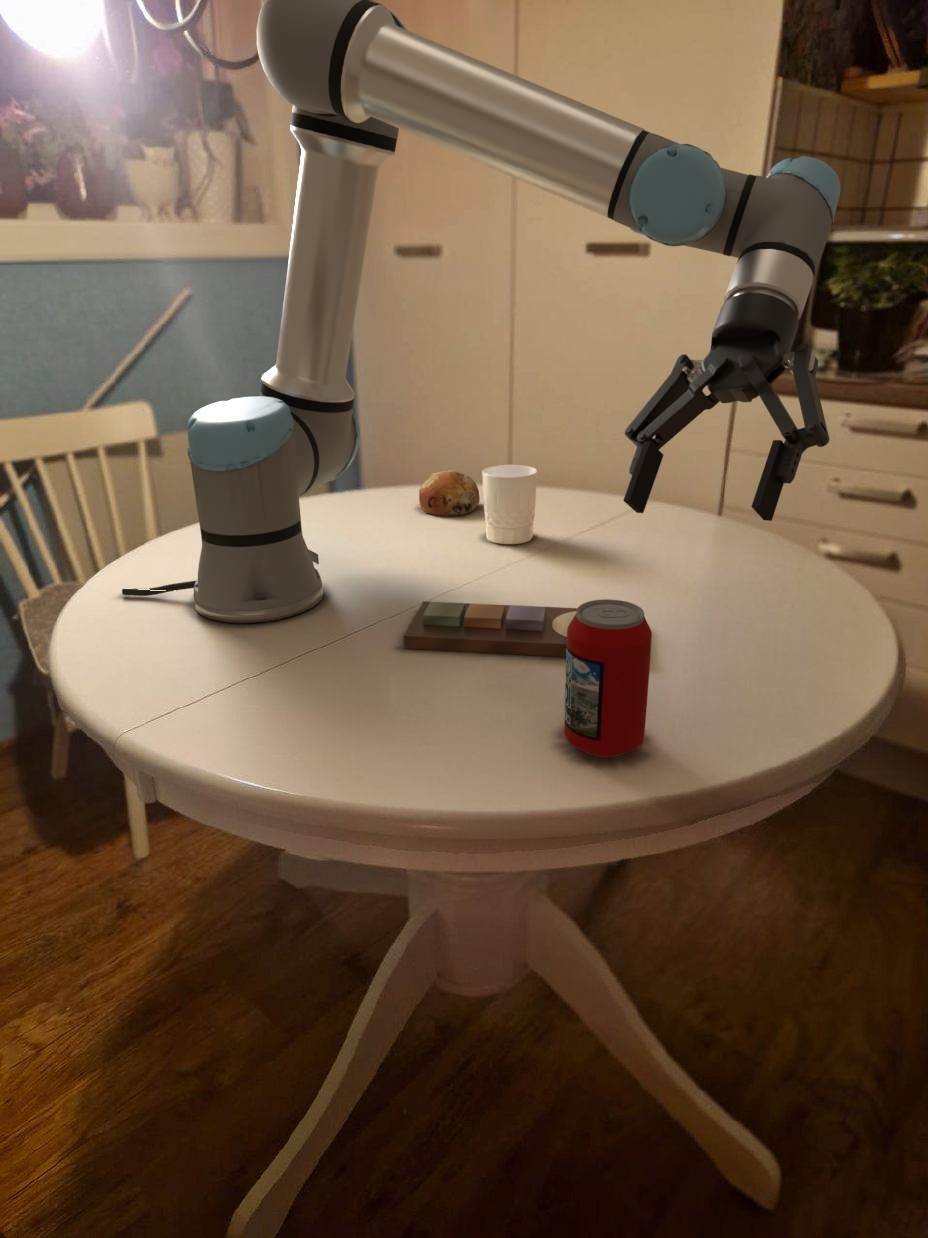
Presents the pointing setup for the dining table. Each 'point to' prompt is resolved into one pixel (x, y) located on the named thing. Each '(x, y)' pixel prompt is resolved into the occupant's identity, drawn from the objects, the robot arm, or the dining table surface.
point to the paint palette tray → (490, 628)
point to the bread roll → (449, 494)
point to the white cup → (509, 503)
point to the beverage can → (607, 677)
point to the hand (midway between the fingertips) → (693, 510)
